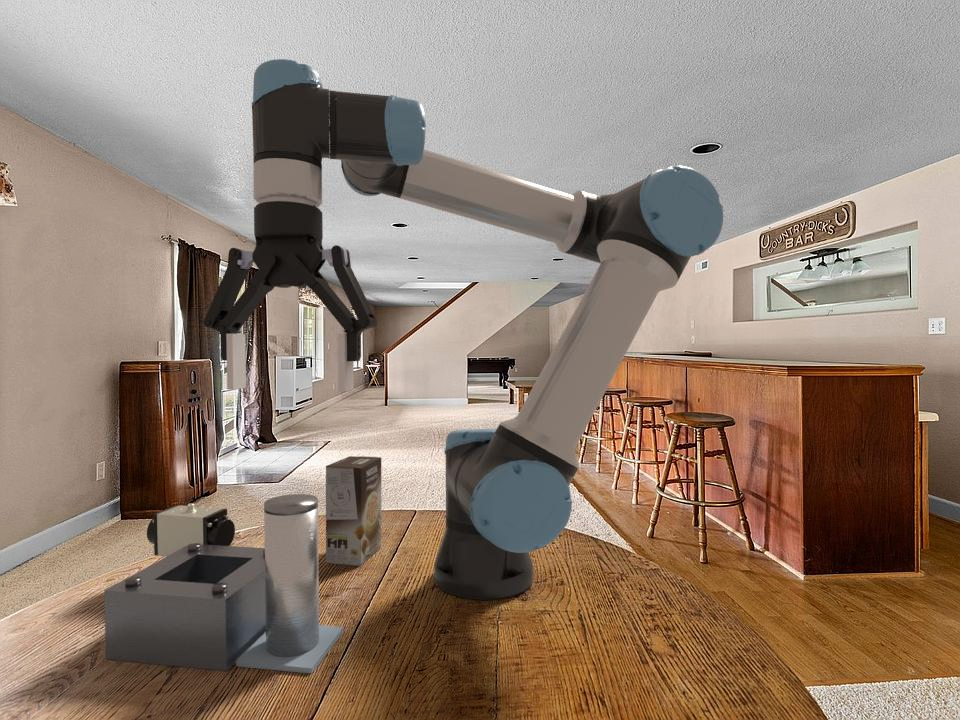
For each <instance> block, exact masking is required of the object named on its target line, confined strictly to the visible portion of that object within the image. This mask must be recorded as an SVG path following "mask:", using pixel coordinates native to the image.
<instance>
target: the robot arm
mask: <svg viewBox="0 0 960 720" xmlns="http://www.w3.org/2000/svg"><path fill="white" fill-rule="evenodd" d="M252 86H253V89H252V90H253V92H252V101H251V115H252V116H251V119H252V120H251V121H252V149H253V150H252V152H253V154H252V155H253V200H254V201H255V202H256V203H257V204H256V205H255V206H254V208H253V233H254V239H255V248H253V249H254V250H253V251H250V250H244V249H241V248H236V247H231V248H229V251H228V255H227V257H228V258H227V267H226V269H225V271H224V274H223V276H222V279H221V280H220V283H219V285H218V288H217V290H216V291H215V295H214V297H213V299H212V302H211V303H210V306H209V308H208V310H207V312H206V315H205V316H204V319H203V324H204V327H206V328H210V329H212V330H216V331H217V332H218V334H219V336H220V337H219V338H220V358H221V360H222V361H226V385H227V386H226V387H227V389H226V390H228V391H229V390H230V391H231V390H233V391H234V390H240V389H247V368H246V366H247V363H246V361H247V360H246V357H247V355H246V347H247V346H246V333H242V330H241V329H242V327H243V326H244V324H245V323H246V321H248V320H249V318H250V317H251V316H252V314H253V313H254V311H256V309H257V307H258V306H259V305H260V304H261V302H262V301H263V299H265V298H266V296H267V295H268V293H269V292H272V291H273V290H274V289H275V288H279V289H280V288H281V289H283V288H284V289H285V288H291V287H295V288H307V287H308V288H309V289H310V290H311V291H312V292H314V294H315V295H316V297H317V298H318V299H319V300H320V301H321V302H322V304H323V305H324V306H325V308H326V309H327V310H328V312H330V314H331V315H332V316H333V318H335V320H336V321H337V322H338V323H339V325H340V326H341V327H342V328H343V329H344V330H343V332H344V333H337V354H338V355H337V356H338V357H337V359H338V360H337V362H338V363H337V365H338V367H337V368H338V369H337V370H338V382H337V383H338V392H349V391H352V390H354V389H355V388H354V387H355V386H354V385H355V384H354V383H355V382H354V379H355V378H354V376H355V375H354V373H355V371H354V366H355V365H354V364H355V363H354V362H360V360H361V358H362V333H363V332H364V331H366V330H369V329H371V328H372V329H373V328H375V327H376V326H377V324H378V321H377V317H376V316H375V314H374V312H373V310H372V308H371V305H370V304H369V302H368V299H367V298H366V295H365V293H364V291H363V290H362V287H361V285H360V283H359V281H358V279H357V277H356V275H355V273H354V270H353V268H352V264H351V263H352V262H351V256H350V251H349V250H348V248H345V247H342V246H341V245H333V246H332V248H327V249H324V247H323V237H324V236H323V234H324V231H323V230H324V229H323V225H324V224H323V212H322V211H321V209H320V208H319V207H320V206H322V204H323V174H322V173H323V163H322V162H323V159H330V160H339V161H340V163H341V166H340V167H341V171H342V174H343V178H344V180H345V182H346V184H347V185H348V186H349V187H350V189H352V191H354V192H355V193H357V194H359V195H362V196H365V197H375V196H378V195H380V194H383V195H385V196H389V197H394V198H397V199H401V200H404V201H408V202H411V203H415V204H418V205H421V206H424V207H428V208H432V209H435V210H439V211H441V212H446V213H449V214H452V215H455V216H460V217H463V218H466V219H471V220H473V221H476V222H481V223H484V224H487V225H492V226H495V227H498V228H502V229H505V230H508V231H510V232H511V231H512V232H515V233H518V234H519V233H520V234H523V235H526V236H530V237H533V238H537V239H539V240H542V241H546V242H550V243H554V244H555V245H556V247H557V250H558V251H559V252H561V253H564V254H568V255H571V256H574V257H578V258H581V259H585V260H588V261H590V262H594V263H599V266H598V268H597V269H596V272H595V273H594V276H593V277H592V279H591V280H590V282H589V285H588V286H587V288H586V289H585V292H584V293H583V295H582V297H581V299H580V301H579V303H578V304H577V306H576V308H575V310H574V312H573V314H572V316H571V317H570V319H569V321H568V323H567V324H566V326H565V328H564V329H563V331H562V334H560V337H559V339H558V341H557V343H556V345H555V346H554V348H553V350H552V352H551V354H550V355H549V357H548V360H547V361H546V363H545V365H544V367H543V368H542V370H541V372H540V374H539V376H538V378H537V379H536V381H535V383H534V385H533V387H532V388H531V390H530V391H529V394H528V395H527V397H526V399H525V401H524V403H523V405H522V407H521V408H520V410H519V412H518V414H517V415H516V416H515V417H513V418H511V419H508V420H504V421H501V422H500V423H499V424H498V426H497V428H477V429H474V428H473V429H459V430H458V429H457V430H452V431H450V432H449V433H448V434H447V435H446V440H445V448H444V451H443V452H444V455H445V530H444V533H443V536H442V539H441V542H440V545H439V549H438V551H437V554H436V558H435V560H434V561H435V562H434V566H433V576H434V577H433V578H434V579H433V580H434V583H435V584H436V586H437V587H438V588H439V589H440V590H442V591H444V592H445V593H447V594H449V595H452V596H455V597H459V598H464V599H470V600H497V599H505V598H510V597H514V596H516V595H518V594H520V593H523V592H525V591H526V590H527V589H529V588H530V586H531V585H532V584H533V581H534V563H533V561H532V557H531V555H530V552H534V551H536V550H540V549H541V550H542V549H543V548H545V547H546V546H548V545H550V544H551V543H553V542H554V541H555V540H556V539H557V538H558V537H559V536H560V535H561V534H562V532H563V531H564V530H565V528H566V527H567V525H568V523H569V519H570V518H571V514H572V509H573V507H572V506H573V500H572V496H571V495H572V494H571V489H570V485H571V483H572V481H573V479H574V477H575V475H576V473H577V471H578V469H580V468H579V467H580V464H579V460H578V457H577V453H576V447H577V445H578V444H579V442H580V440H581V438H582V436H583V434H584V433H585V431H586V430H587V427H588V425H589V423H590V422H591V420H592V418H593V416H594V414H595V412H596V410H597V408H598V406H599V404H600V403H601V401H602V399H603V397H604V395H605V393H606V391H607V389H608V388H609V385H611V382H612V380H613V378H614V376H615V375H616V373H617V370H618V369H619V367H620V365H621V363H622V361H623V360H624V358H625V355H626V354H627V353H628V350H629V349H630V346H631V344H632V342H633V341H634V338H636V335H637V334H638V332H639V331H640V327H641V326H642V324H643V322H644V320H645V318H646V316H647V315H648V313H649V310H650V309H651V308H652V305H653V303H654V301H655V300H656V297H657V296H658V294H659V293H660V292H661V291H664V290H665V291H666V290H668V289H672V288H674V287H675V286H676V285H677V283H678V282H679V280H680V278H681V276H682V274H683V272H684V271H685V269H686V266H687V265H688V264H689V261H690V259H691V258H692V257H694V256H699V255H701V254H704V253H705V251H707V250H709V249H710V248H711V247H713V245H714V244H715V243H716V242H717V240H718V239H719V236H720V234H721V233H722V228H723V224H724V209H723V204H721V202H720V194H719V192H718V191H717V189H716V187H715V185H714V184H713V183H712V181H710V179H709V178H708V177H706V176H705V175H704V174H703V173H702V172H700V171H698V170H696V169H695V168H692V167H688V166H683V165H673V166H668V167H666V168H664V169H658V170H655V171H652V172H651V173H649V174H648V175H647V176H646V177H645V178H643V179H642V180H639V181H637V182H635V183H633V184H631V185H629V186H628V187H625V188H624V189H622V190H620V191H617V192H615V193H610V194H595V193H590V192H586V191H583V190H576V191H575V192H573V193H571V194H569V193H566V192H563V191H561V190H556V189H554V188H551V187H548V186H547V187H546V186H543V185H541V184H538V183H534V182H531V181H529V180H524V179H521V178H517V177H515V176H512V175H509V174H505V173H502V172H498V171H495V170H492V169H489V168H485V167H483V166H482V167H481V166H479V165H476V164H473V163H470V162H465V161H463V160H459V159H456V158H454V157H453V158H452V157H449V156H446V155H443V154H441V153H438V152H434V151H431V150H427V149H425V143H426V125H427V124H426V113H425V109H424V107H423V104H422V103H421V102H419V101H418V100H415V99H410V98H403V97H398V96H396V95H393V94H390V95H382V94H369V93H362V92H361V93H360V92H359V93H358V92H351V91H350V92H349V91H339V90H331V89H329V88H324V86H323V84H322V79H321V76H320V74H319V73H318V72H317V70H316V69H314V67H312V66H310V65H308V64H304V63H298V62H297V61H296V60H292V59H285V58H284V59H283V58H278V59H277V58H276V59H270V60H267V61H264V62H262V63H260V64H259V65H258V67H256V69H255V70H254V74H253V85H252ZM326 261H327V262H328V265H329V266H331V267H333V269H334V273H335V274H336V277H337V279H338V281H339V283H340V285H341V288H342V289H343V291H344V294H345V295H346V297H347V300H348V302H349V304H350V306H351V308H352V311H353V312H354V314H355V316H354V314H353V313H352V312H351V310H349V308H348V307H347V305H346V304H345V303H344V301H342V300H341V298H340V297H339V296H338V295H337V293H336V292H335V291H334V290H333V289H332V287H331V286H330V285H329V282H328V281H327V279H326V278H325V277H324V276H323V275H322V273H321V272H320V270H321V269H322V267H323V266H324V264H325V263H326ZM253 263H254V265H255V266H256V267H257V270H256V272H255V273H254V275H253V276H252V277H251V278H250V280H249V284H248V286H247V287H245V290H244V291H243V292H242V293H241V295H239V294H240V292H241V290H242V288H243V285H244V282H245V281H246V279H247V276H248V273H249V269H251V268H252V267H253ZM238 296H239V298H238ZM237 298H238V299H237Z"/></svg>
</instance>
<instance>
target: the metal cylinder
mask: <svg viewBox="0 0 960 720" xmlns="http://www.w3.org/2000/svg"><path fill="white" fill-rule="evenodd" d="M263 516H264V518H263V526H264V531H263V532H264V548H265V610H266V650H267V652H268V653H269V654H271V655H273V656H277V657H293V656H298V655H301V654H304V653H306V652H309V651H310V650H312V649H313V648H315V647H316V646H317V644H318V643H319V625H320V585H319V583H320V581H319V579H320V578H319V576H320V575H319V574H320V572H319V571H320V570H319V569H320V568H319V565H320V564H319V562H320V560H319V498H318V497H317V496H315V495H312V494H306V493H298V494H297V493H296V494H295V493H294V494H285V495H284V494H283V495H279V496H275V497H271V498H269V499H267V500H266V501H264V503H263Z"/></svg>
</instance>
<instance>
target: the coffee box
mask: <svg viewBox="0 0 960 720" xmlns="http://www.w3.org/2000/svg"><path fill="white" fill-rule="evenodd" d="M382 459H383V457H378V456H352V455H350V456H347V457H345V458H342V459H340V460H338V461H335V462H333V463H330V464H328V465H326V466H325V563H326V564H334V565H342V566H343V565H346V566H355V567H359V566H362V565H363V564H364V563H365V562H366V561H367V560H369V558H371V557H372V556H373V555H374V554H375V553H376V552H377V551H379V549H381V548H382Z"/></svg>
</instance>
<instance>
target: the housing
mask: <svg viewBox="0 0 960 720" xmlns="http://www.w3.org/2000/svg"><path fill="white" fill-rule="evenodd" d="M103 591H104V593H103V595H104V602H103V603H104V635H105V636H104V638H105V642H104V643H105V660H110V661H120V662H130V663H141V664H152V665H159V666H170V667H172V666H173V667H180V668H181V667H182V668H190V669H192V668H193V669H202V670H212V671H221V672H222V671H224V672H228V670H229V669H230V668H232V666H233V665H235V664H236V661H237V660H238V659H239V658H240V657H241V656H242V655H243V654H244V653H245V652H246V651H247V650H248V649H249V648H250V647H251V646H252V645H253V644H254V643H255V642H256V641H257V640H258V639H259V638H260V637H261V636H262V635H263V634H264V633H265V632H266V610H265V547H252V546H251V547H250V546H237V545H235V546H234V545H230V546H221V545H205V544H200V543H194V544H189V545H187V546H185V547H183V548H182V549H180V550H178V551H176V552H174V553H172V554H170V555H169V556H164V558H162V559H159V560H158V561H156V562H154V563H153V564H151V565H148V566H147V567H145V568H143V569H141V570H140V571H138V572H135V573H134V574H132V575H130V576H128V577H126V578H124V579H122V580H121V581H119V582H117V583H115V584H113V585H111V586H109V587H108V588H106V589H104V590H103Z"/></svg>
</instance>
